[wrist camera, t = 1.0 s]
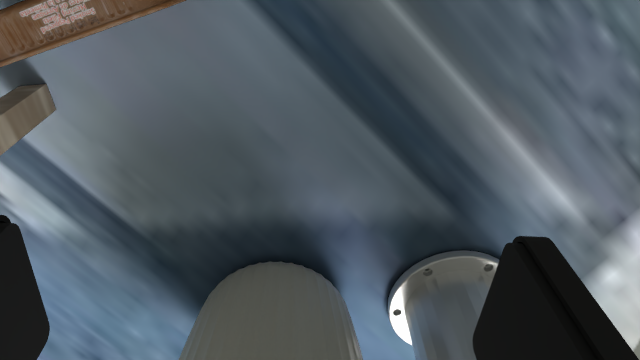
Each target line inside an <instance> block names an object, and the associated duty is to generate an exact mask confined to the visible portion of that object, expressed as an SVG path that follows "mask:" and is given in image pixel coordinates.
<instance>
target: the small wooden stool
mask: <svg viewBox="0 0 640 360" xmlns="http://www.w3.org/2000/svg"><path fill="white" fill-rule="evenodd" d="M55 110H56V108H55V105H54V103H53V100H52V98H51V95H50V92H49V90H48V87H47V84H40V85H27V86H19V87H17V88H15V89H14V90H12V91H11V92H9V93H8V94H6V95H4V96H3V97H1V98H0V155H2V154H3V153H4V152H5V151H7V150H8V149H9V148H10V147H11V146H13V145H14V144H15V143H16V142H18V141H19V140H20V139H21V138H22V137H24V136H25V135H26V134H27V133H28V132H30V131H31V130H32V129H33V128H35V127H36V126H37V125H38V124H39V123H41V122H42V121H43V120H44V119H45V118H47V117H48V116H49V115H50V114H52V113H53V112H54V111H55Z"/></svg>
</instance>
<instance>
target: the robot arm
mask: <svg viewBox="0 0 640 360" xmlns="http://www.w3.org/2000/svg"><path fill="white" fill-rule="evenodd" d="M388 314H389V319H390V322H391V325H392V328H393V329H394V331H395V332H396V333H397V335H398V336H399V337H400V338H402V339H403V340H404V341H405V342H407V343H409V344H410V345H412V346H413V350H414V354H415V358H416V360H639V359H638V358H637V356H636V355H635V354H634V352H633V351H632V350H631V348H630V347H629V345H628V344H627V343H626V341H625V340H624V339H623V337H622V336H621V334H620V333H619V332H618V330H617V329H616V328H615V326H614V325H613V324H612V322H611V321H610V319H609V318H608V317H607V315H606V314H605V313H604V311H603V310H602V309H601V307H600V306H599V304H598V303H597V302H596V300H595V299H594V298H593V296H592V295H591V293H590V292H589V291H588V289H587V288H586V287H585V285H584V284H583V283H582V281H581V280H580V278H579V277H578V276H577V274H576V273H575V272H574V270H573V269H572V268H571V266H570V265H569V263H568V262H567V261H566V259H565V258H564V257H563V255H562V254H561V253H560V251H559V250H558V248H557V247H556V246H555V244H554V243H553V242H552V241H551V240H550V239H549V238H547V237H529V236H518V237H516V238H515V239H514V240H513V242H512V243H507V244H506V245H505V247H504V249H503V252H502V255H501V258H500V260H499V259H497V258H495V257H493V256H490V255H488V254H485V253H481V252H477V251H465V250H462V251H450V252H445V253H441V254H437V255H434V256H431V257H429V258H426V259H424V260H422V261H420V262H418V263H417V264H415V265H413V266H412V267H411V268H409V269H408V270H407V271H406V272H404V273H403V274H402V275H401V277H400V278H399V279H398V280H397V281H396V283H395V284H394V286H393V288H392V289H391V292H390V295H389V298H388ZM49 330H50V326H49V321H48V318H47V315H46V312H45V308H44V305H43V302H42V299H41V295H40V292H39V289H38V286H37V283H36V279H35V276H34V273H33V270H32V266H31V263H30V260H29V257H28V254H27V250H26V247H25V244H24V241H23V237H22V234H21V231H20V229H19V226H18V225H16V224H14V223H11V222H10V219H9V218H7V217H6V216H4V215H0V360H37V358H38V357H39V355H40V353H41V351H42V349H43V348H44V346H45V344H46V342H47V340H48V336H49Z"/></svg>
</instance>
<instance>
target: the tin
mask: <svg viewBox="0 0 640 360" xmlns="http://www.w3.org/2000/svg"><path fill="white" fill-rule="evenodd" d="M183 1H186V0H24V1H21V2H19V3H16V4H14V5H11V6H9V7H6V8H4V9H1V10H0V67H2V66H6V65H8V64H11V63H14V62H17V61H20V60H23V59H25V58H28V57H31V56H34V55H36V54H39V53H42V52H44V51H48V50H51V49H53V48H56V47H59V46H61V45H64V44H67V43H69V42H72V41H75V40H78V39H81V38H84V37H86V36H89V35H92V34H95V33H97V32H100V31H103V30H106V29H109V28H111V27H114V26H117V25H120V24H123V23H125V22H128V21H131V20H134V19H137V18H140V17H143V16H145V15H148V14H151V13H153V12H156V11H159V10H161V9H164V8H167V7H170V6H173V5H175V4H178V3H181V2H183Z"/></svg>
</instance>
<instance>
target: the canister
mask: <svg viewBox="0 0 640 360" xmlns="http://www.w3.org/2000/svg"><path fill="white" fill-rule="evenodd" d="M179 360H363V358H362V354H361V350H360V347H359V343H358V340H357V336H356V333H355V330H354V326H353V323H352V320H351V317H350V314H349V311H348V308H347V306H346V303H345V301H344V299H343V298H342V297H341V295H340V293H339V291H338V290H337V289H336V288H335V287H334V286H333V285H332V283H331V282H330V281H329V280H327V279H325V278H324V277H323V276H322V275H321V274H319V273H316V272H314V270H312V269H308V268H305V267H304V266H302V265H296V264H293V263H284V262H282V261H280V262H271V261H269V262H266V263H260V262H259V263H258V264H255V265H248V266H247V267H245V268H243V269H238V270H237V271H236V272H235V273H232V274H230V275H228V276H227V277H226V278H225V279H224V280H222V281H221V282H220V283H219V284H218V285H217V286H216V288H215V289H214V290H213V291H212V292H211V293H210V294H209V296H208V298H207V300H206V301H205V303H204V305H203V306H202V308H201V310H200V313H199V315H198V317H197V319H196V321H195V324H194V326H193V328H192V330H191V332H190V335H189V337H188V339H187V341H186V344H185V346H184V348H183V351H182V353H181V356H180V358H179Z"/></svg>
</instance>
